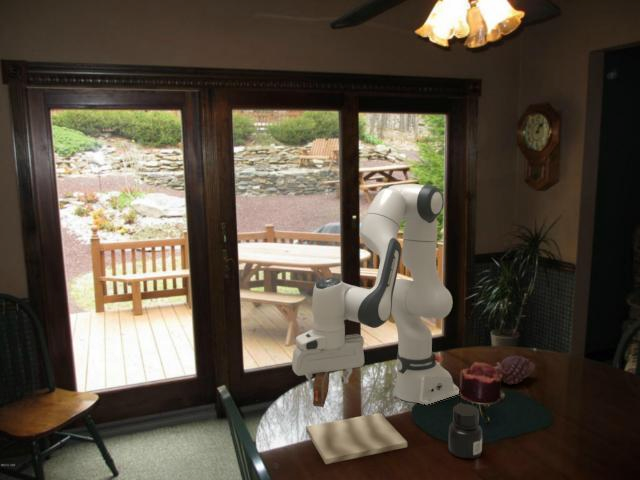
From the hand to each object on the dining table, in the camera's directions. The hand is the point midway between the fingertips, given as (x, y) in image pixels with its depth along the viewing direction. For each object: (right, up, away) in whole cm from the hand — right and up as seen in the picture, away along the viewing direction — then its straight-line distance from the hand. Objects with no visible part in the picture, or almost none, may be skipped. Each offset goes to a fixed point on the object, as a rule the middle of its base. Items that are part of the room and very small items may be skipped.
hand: (329, 385), depth 145 cm
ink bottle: (+37, -18, -1) cm, 41 cm away
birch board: (+8, -17, +6) cm, 19 cm away
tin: (-3, -4, 0) cm, 5 cm away
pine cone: (+66, -11, +40) cm, 78 cm away
